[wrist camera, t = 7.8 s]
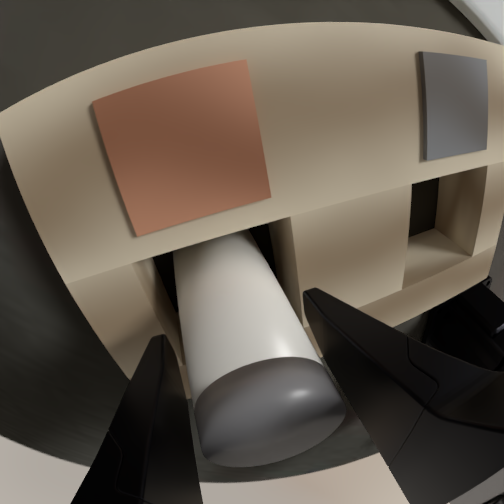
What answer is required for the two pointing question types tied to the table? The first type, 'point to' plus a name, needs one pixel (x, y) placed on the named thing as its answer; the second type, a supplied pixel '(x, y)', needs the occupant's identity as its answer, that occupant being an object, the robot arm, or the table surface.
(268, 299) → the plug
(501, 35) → the external hard drive
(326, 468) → the table surface
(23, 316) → the table surface
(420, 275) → the socket block
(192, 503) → the robot arm
